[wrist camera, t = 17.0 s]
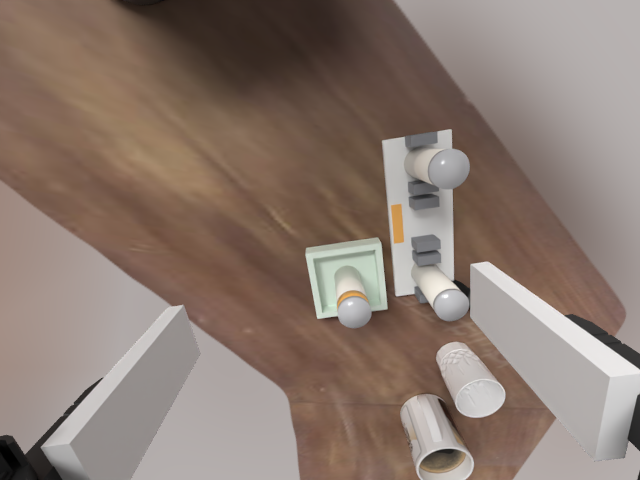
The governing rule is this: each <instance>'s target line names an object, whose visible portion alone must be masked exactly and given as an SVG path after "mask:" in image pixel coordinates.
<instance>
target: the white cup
mask: <svg viewBox="0 0 640 480" xmlns="http://www.w3.org/2000/svg"><path fill="white" fill-rule="evenodd" d="M436 361H437V364H438V366H439V368H440V370H441V374H442V376H443V379H444V381H445V384H446V386H447V388H448V390H449V392H450V394H451V397H452V399H453V401H454V403H455V405H456V408H457V409H458V411H459V412H460V413H462V414H463V415H465V416H468V417H472V418H480V417H485V416H488V415H491V414H492V413H494V412H496V411H497V410H498V409H499V408H500V407H501V406H502V404H503V403H504V400H505V390H504V388H503V386H502V385H501V384H500V383H499V382H498V380H497V379H496V378H495V377H494V376H493V374H492V373H491V372H490V371H489V369H488V368H487V367H486V366H485V365H484V363H483V362H482V361H481V360H480V359H479V358H478V356H477V355H476V354H474V352H473V351H472V350H471V349H470V348H469V347H468V346H467V345H466V344H465V343H461V342H451V343H448V344H446V345H444V346H442V347H441V348H440V350H439V351H438V352H437V356H436Z"/></svg>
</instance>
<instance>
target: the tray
mask: <svg viewBox="0 0 640 480" xmlns="http://www.w3.org/2000/svg"><path fill="white" fill-rule="evenodd" d="M306 259H307V265H308V270H309V276H310V281H311V287H312V292H313V297H314V303H315V308H316V314H317V319H320V318H327V317H334V316H338V312H337V300H336V291H335V282H334V275H335V272H336V271H337V270H338V269H339V268H340V267H342V266H347V265H348V266H353V267H355V268H356V269H357V270H358V271H359V274H360V277H361V280H362V283H363V287H364V290H365V293H366V296H367V299H368V302H369V305H370V308H371V311H378V310H385V309H388V307H387V297H386V287H385V276H384V266H383V256H382V245H381V242H380V240H379V238H378V237H376V238H369V239H363V240H356V241H349V242H342V243H336V244H329V245H322V246H316V247H309V248H306Z"/></svg>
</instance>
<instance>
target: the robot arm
mask: <svg viewBox="0 0 640 480" xmlns="http://www.w3.org/2000/svg"><path fill="white" fill-rule="evenodd" d="M123 1H126V2H129V3H133V4H139V5H148V4H154V3H158V2H161V1H163V0H123ZM470 318H471V319H472V320H473V321H474V322H475V323H476V325H477V326H478V327H479V328H480V329H481V330H482V332H483V333H484V334H485V335H486V336H487V337H488V339H489V340H490V341H491V342H492V343H493V344H494V346H495V347H496V348H497V349H498V350H499V351H500V353H501V354H502V355H503V356H504V357H505V358H506V360H507V361H508V362H509V363H510V364H511V365H512V366H513V368H514V369H515V370H516V371H517V372H518V373H519V375H520V376H521V377H522V378H523V379H524V380H525V382H526V383H527V384H528V385H529V386H530V387H531V389H532V390H533V391H534V392H535V393H536V394H537V396H538V397H539V398H540V399H541V400H542V401H543V403H544V404H545V405H546V406H547V407H548V408H549V410H550V411H551V412H552V413H553V414H554V415H555V417H556V418H557V419H558V420H559V421H560V422H561V423H562V424H563V426H564V427H565V428H566V429H567V430H568V432H569V433H570V434H571V435H572V436H573V437H574V438H575V440H576V441H577V442H578V443H579V444H580V446H581V447H582V448H583V449H584V450H585V451H586V452H587V454H588V455H589V456H590V457H591V458H592V460H593V461H602V460H611V459H620V458H625V454H626V450H627V446H628V441H630V442H631V443H632V444H633V445H634V446H635V447H636V448H637V449H638V450H639V451H640V354H639V353H638V352H636V351H635V350H633V349H632V348H630V347H628V346H627V345H625V344H622V343H621V341H619V340H618V339H616V338H615V337H613V336H612V335H608V333H607V332H606V331H604V330H603V329H601V328H600V327H598V326H597V325H595V324H594V323H592V322H590V321H588V320H585V319H583V318H580V317H578V316H575V315H573V314H570V315H562V314H561V313H560V312H558V311H557V310H555V309H554V308H553V307H551V306H550V305H548V304H547V303H546V302H544V301H543V300H541V299H540V298H539V297H537V296H536V295H534V294H533V293H531V292H530V291H529V290H527V289H526V288H524V287H523V286H522V285H520V284H519V283H517V282H516V281H515V280H513V279H512V278H510V277H509V276H508V275H506V274H505V273H503V272H502V271H501V270H499V269H498V268H496V267H495V266H494V265H492V264H491V263H489V262H482V263H475V264H471V266H470ZM199 356H200V351H199V348H198V345H197V342H196V339H195V336H194V333H193V331H192V328H191V325H190V322H189V319H188V316H187V313H186V310H185V307H184V305H181V306H174V307H168V308H167V309H166V310H165V311H164V312H163V313H162V314H161V315H160V317H159V318H158V319H157V320H156V321H155V322H154V323H153V324H152V325H151V326H150V327H149V329H148V330H147V331H146V332H145V333H144V334H143V335H142V336H141V337H140V339H139V340H138V341H137V342H136V343H135V344H134V345H133V346H132V347H131V348H130V349H129V351H128V352H127V353H126V354H125V355H124V356H123V357H122V358H121V359H120V361H119V362H118V363H117V364H116V365H115V366H114V367H113V368H112V369H111V370H110V371H109V373H108V374H107V375H106V376H105V377H104V378H101V379H100V380H98V381H97V382H96V383H94V384H93V385H92V386H90V387H89V388H88V389H87V390H85V391H84V392H83V394H82V395H81V396H80V397H79V398H78V399H77V400H76V401H75V402H74V405H72V406H70V408H68V409H67V411H66V412H65V413H64V415H63V416H62V417H60V418H59V419H58V420H57V421H56V422H55V423H54V425H53V426H52V427H51V428H50V429H49V430H48V431H47V432H46V433H45V434H44V435H43V436H42V437H41V439H39V440H38V442H37V443H36V444H35V445H34V446H33V447H32V448H31V449H30V450H29V451H28V452H27V453H26V454H25V455H24V453H23V451H22V450H21V448H20V447H19V445H18V444H17V442H16V441H15V439H14V438H13V436H9V435H4V436H0V480H130V479H131V478H132V476H133V474H134V472H135V470H136V469H137V467H138V465H139V463H140V461H141V460H142V457H143V456H144V454H145V452H146V450H147V449H148V447H149V445H150V444H151V442H152V440H153V438H154V436H155V435H156V433H157V431H158V429H159V427H160V426H161V424H162V422H163V420H164V418H165V416H166V415H167V413H168V411H169V409H170V407H171V406H172V404H173V402H174V400H175V399H176V397H177V395H178V393H179V391H180V389H181V388H182V386H183V384H184V382H185V381H186V379H187V377H188V375H189V373H190V372H191V370H192V368H193V366H194V364H195V363H196V361H197V359H198V357H199ZM638 480H640V472H639V476H638Z"/></svg>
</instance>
